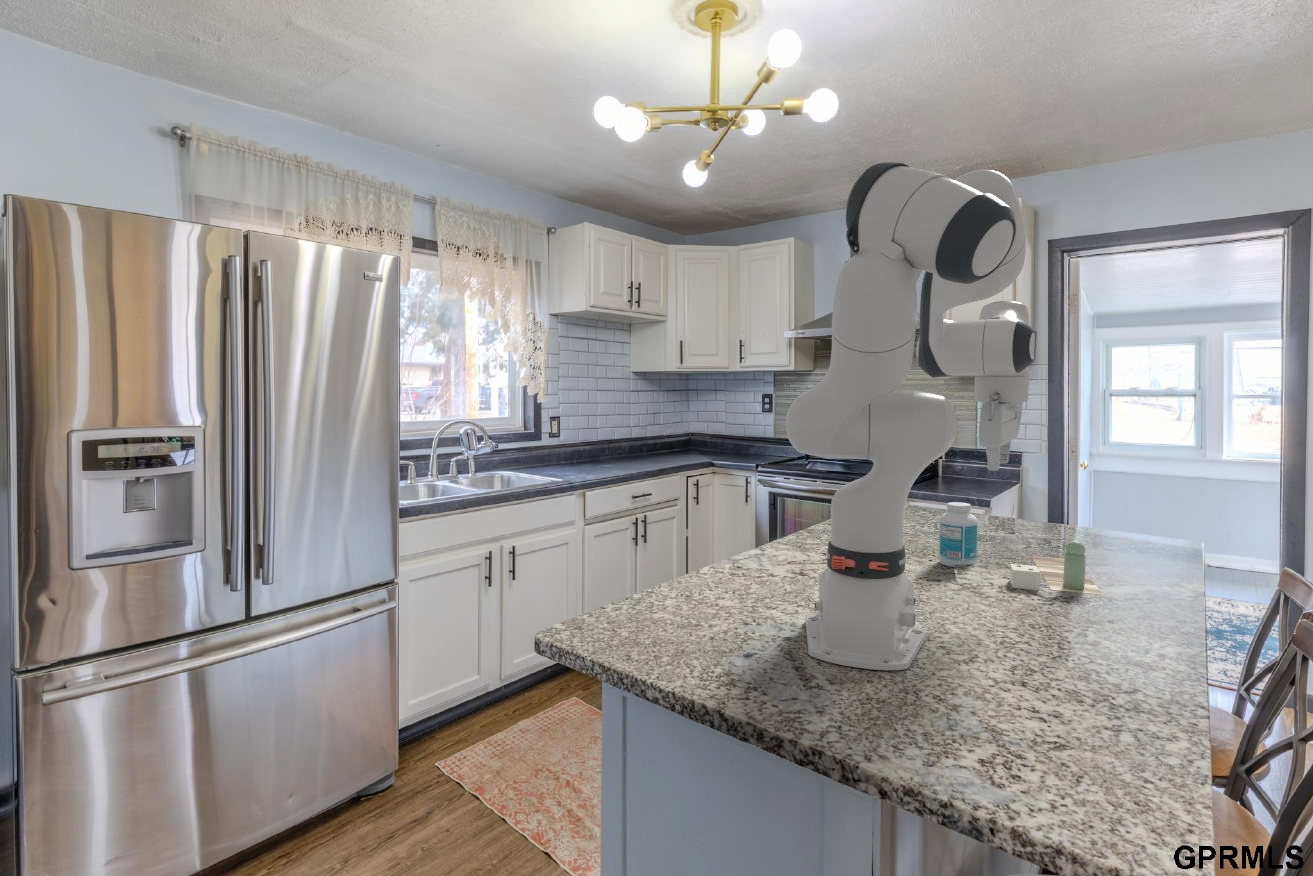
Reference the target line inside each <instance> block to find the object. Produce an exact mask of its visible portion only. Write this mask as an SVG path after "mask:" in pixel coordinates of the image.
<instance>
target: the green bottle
mask: <svg viewBox="0 0 1313 876" xmlns="http://www.w3.org/2000/svg"><path fill="white" fill-rule="evenodd" d="M1064 549H1065V551H1064V557H1063V558H1064V565H1063V566H1064V573H1063V574H1064V578H1063V587H1065V588H1068V589H1072V590H1084V583H1085V573H1086V560H1087V559H1086V558H1087V555H1086V547H1085V544H1084V543H1082V542H1081V541H1079V540H1071V541H1069V542H1068V543H1067V544H1066V545H1065V547H1064Z"/></svg>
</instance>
